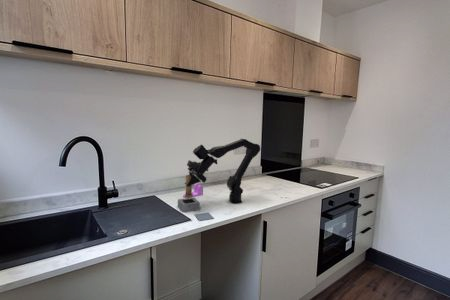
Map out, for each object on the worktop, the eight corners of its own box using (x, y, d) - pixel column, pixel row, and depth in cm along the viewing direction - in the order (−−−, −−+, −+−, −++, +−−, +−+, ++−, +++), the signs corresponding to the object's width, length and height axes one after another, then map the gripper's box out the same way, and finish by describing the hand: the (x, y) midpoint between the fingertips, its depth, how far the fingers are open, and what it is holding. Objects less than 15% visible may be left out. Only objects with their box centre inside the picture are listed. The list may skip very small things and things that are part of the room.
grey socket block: (194, 203, 145) (194, 197, 144) (199, 209, 136) (199, 202, 135) (177, 205, 141) (177, 199, 140) (182, 212, 132) (182, 205, 131)
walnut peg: (191, 194, 141) (191, 174, 139) (193, 197, 136) (193, 176, 135) (183, 195, 139) (183, 175, 137) (185, 198, 134) (185, 177, 133)
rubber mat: (208, 213, 132) (208, 212, 132) (213, 218, 125) (214, 218, 125) (194, 215, 129) (194, 214, 128) (199, 221, 121) (199, 220, 121)
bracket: (198, 192, 166) (198, 183, 165) (203, 195, 162) (203, 185, 161) (181, 196, 158) (181, 186, 157) (185, 198, 154) (185, 188, 153)
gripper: (190, 152, 144) (172, 172, 141) (201, 158, 127) (180, 180, 124) (203, 165, 149) (185, 184, 146) (214, 171, 132) (195, 193, 129)
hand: (186, 185), depth 136 cm, fingers closed on walnut peg, 3 cm apart
